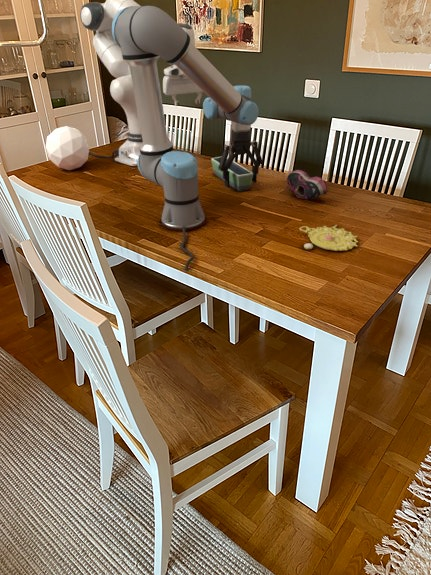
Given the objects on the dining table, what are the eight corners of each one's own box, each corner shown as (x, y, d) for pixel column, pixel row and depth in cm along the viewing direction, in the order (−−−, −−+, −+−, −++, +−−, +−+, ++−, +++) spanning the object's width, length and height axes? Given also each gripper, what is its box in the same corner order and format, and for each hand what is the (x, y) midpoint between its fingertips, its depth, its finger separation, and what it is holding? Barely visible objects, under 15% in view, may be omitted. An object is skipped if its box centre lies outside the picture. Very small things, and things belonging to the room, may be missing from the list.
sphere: (76, 185, 212) (61, 159, 193) (47, 165, 217) (29, 138, 198) (102, 157, 217) (90, 130, 198) (73, 138, 221) (58, 110, 203)
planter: (253, 190, 181) (254, 173, 177) (237, 193, 179) (237, 175, 175) (225, 171, 202) (225, 155, 198) (210, 173, 200) (210, 158, 196)
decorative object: (343, 255, 128) (285, 234, 139) (342, 262, 130) (284, 241, 140) (372, 230, 142) (317, 213, 152) (371, 237, 143) (316, 219, 153)
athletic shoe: (296, 169, 182) (271, 176, 178) (328, 163, 162) (302, 171, 158) (301, 196, 185) (277, 204, 181) (334, 193, 165) (308, 202, 161)
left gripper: (205, 66, 189) (206, 101, 196) (160, 70, 182) (163, 105, 189) (211, 68, 184) (212, 103, 191) (164, 71, 177) (167, 108, 185)
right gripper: (263, 124, 177) (262, 176, 189) (208, 131, 169) (210, 186, 181) (273, 127, 171) (270, 182, 183) (216, 135, 163) (218, 192, 175)
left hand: (187, 104), depth 190 cm, fingers open, 8 cm apart
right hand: (240, 184), depth 182 cm, fingers open, 12 cm apart
